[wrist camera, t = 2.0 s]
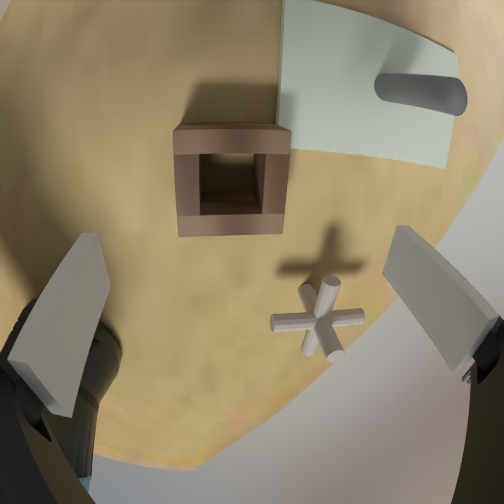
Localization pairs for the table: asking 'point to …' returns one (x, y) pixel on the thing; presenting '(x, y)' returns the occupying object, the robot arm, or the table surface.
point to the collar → (231, 203)
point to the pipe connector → (319, 319)
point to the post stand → (365, 86)
